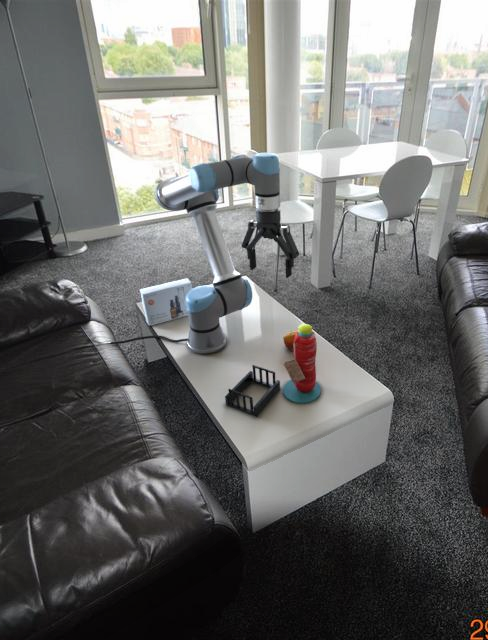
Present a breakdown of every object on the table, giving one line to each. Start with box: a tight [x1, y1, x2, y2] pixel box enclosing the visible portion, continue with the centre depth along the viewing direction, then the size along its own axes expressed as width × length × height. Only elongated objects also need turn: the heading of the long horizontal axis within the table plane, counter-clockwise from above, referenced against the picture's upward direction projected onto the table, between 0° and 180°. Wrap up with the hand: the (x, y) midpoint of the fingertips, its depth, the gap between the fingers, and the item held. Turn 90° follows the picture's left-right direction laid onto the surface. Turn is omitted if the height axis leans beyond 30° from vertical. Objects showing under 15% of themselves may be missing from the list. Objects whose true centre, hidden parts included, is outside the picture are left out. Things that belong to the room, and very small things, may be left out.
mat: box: [282, 379, 322, 405], centre depth 151 cm, size 13×13×1 cm
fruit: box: [283, 330, 298, 352], centre depth 172 cm, size 8×8×8 cm
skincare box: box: [139, 277, 193, 327], centre depth 190 cm, size 21×5×16 cm, turn 120°
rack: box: [224, 364, 281, 418], centre depth 147 cm, size 12×15×7 cm
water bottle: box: [283, 323, 318, 393], centre depth 144 cm, size 12×8×25 cm, turn 129°
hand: (270, 272), depth 146 cm, fingers open, 13 cm apart
